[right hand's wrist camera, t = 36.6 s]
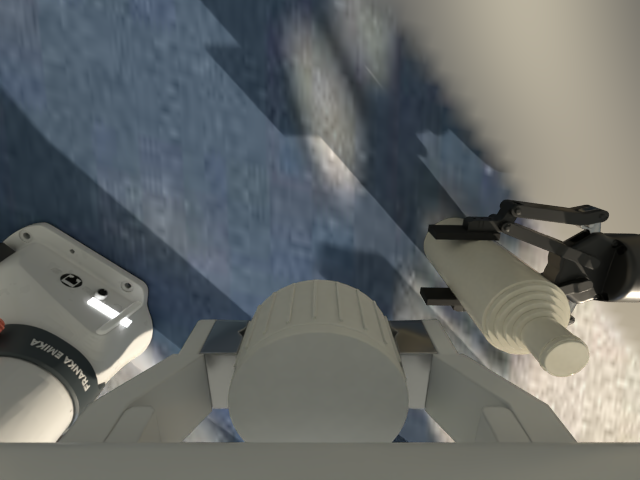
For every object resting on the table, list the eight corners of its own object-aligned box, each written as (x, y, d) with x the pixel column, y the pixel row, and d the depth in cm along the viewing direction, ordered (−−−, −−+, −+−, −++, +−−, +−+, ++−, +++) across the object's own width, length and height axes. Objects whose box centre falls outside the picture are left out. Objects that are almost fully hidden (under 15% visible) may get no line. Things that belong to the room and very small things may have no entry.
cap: (223, 363, 10) (195, 433, 8) (290, 250, 9) (280, 296, 7) (341, 416, 11) (347, 494, 9) (419, 319, 10) (449, 381, 8)
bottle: (489, 235, 43) (643, 346, 23) (454, 277, 45) (566, 413, 25) (446, 207, 42) (568, 297, 21) (412, 251, 44) (493, 373, 24)
